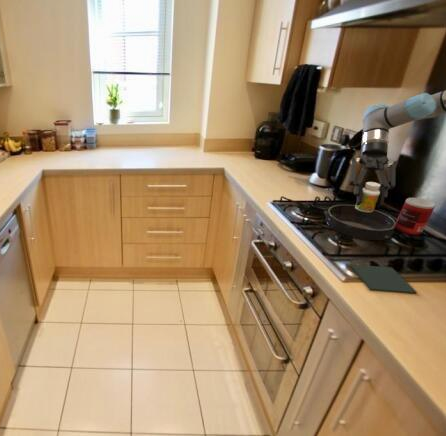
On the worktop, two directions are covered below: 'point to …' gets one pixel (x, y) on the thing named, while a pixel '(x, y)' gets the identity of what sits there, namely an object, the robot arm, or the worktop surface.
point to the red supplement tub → (414, 216)
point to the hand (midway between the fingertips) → (369, 205)
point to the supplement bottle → (369, 197)
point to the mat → (382, 279)
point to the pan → (360, 223)
